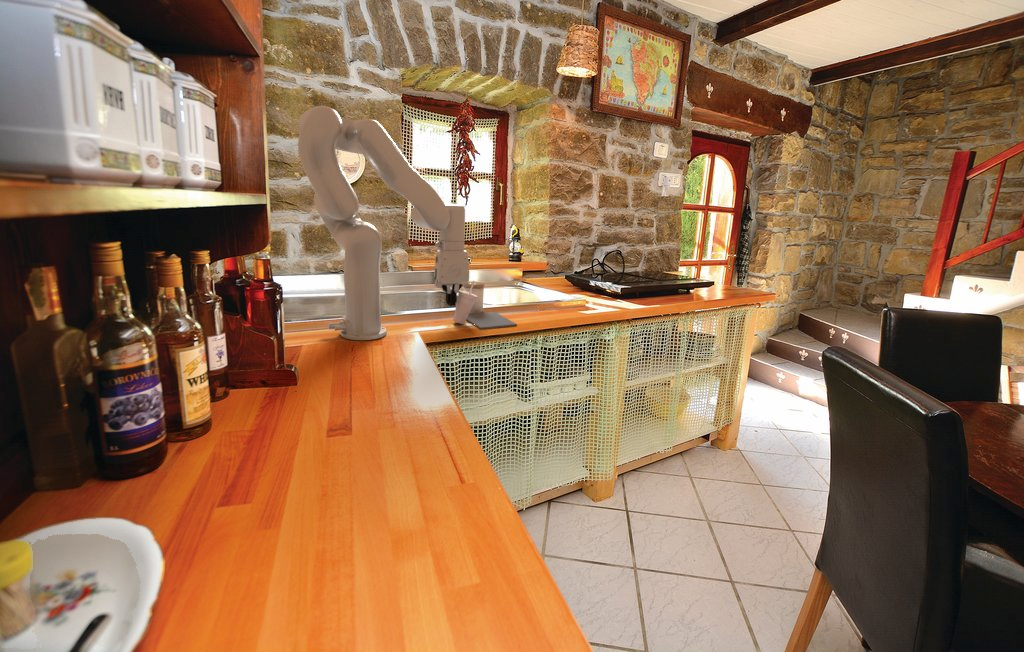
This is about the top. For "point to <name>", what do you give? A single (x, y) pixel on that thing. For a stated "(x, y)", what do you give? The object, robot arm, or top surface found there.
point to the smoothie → (464, 305)
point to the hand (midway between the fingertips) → (451, 304)
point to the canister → (478, 291)
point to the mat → (489, 320)
